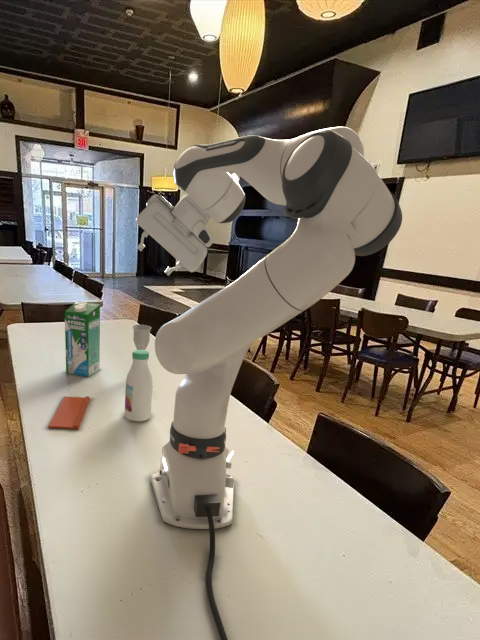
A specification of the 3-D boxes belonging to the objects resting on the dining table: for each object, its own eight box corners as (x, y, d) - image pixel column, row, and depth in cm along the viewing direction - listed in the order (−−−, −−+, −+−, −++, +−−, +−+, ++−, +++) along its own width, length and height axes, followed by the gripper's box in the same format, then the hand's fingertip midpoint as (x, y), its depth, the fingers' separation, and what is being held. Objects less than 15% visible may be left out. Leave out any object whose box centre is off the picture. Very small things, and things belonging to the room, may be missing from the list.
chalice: (128, 371, 157) (129, 324, 151) (144, 369, 160) (147, 324, 153) (134, 377, 151) (136, 330, 144) (151, 376, 154) (154, 329, 147)
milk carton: (65, 372, 150) (64, 304, 141) (78, 365, 158) (77, 300, 149) (88, 377, 148) (88, 308, 139) (99, 369, 156) (100, 303, 147)
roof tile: (78, 429, 112) (78, 425, 112) (48, 428, 111) (48, 424, 111) (90, 399, 130) (90, 396, 130) (64, 398, 130) (64, 395, 130)
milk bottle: (152, 412, 125) (156, 349, 118) (148, 423, 118) (152, 357, 111) (127, 409, 126) (129, 346, 119) (121, 420, 119) (124, 354, 111)
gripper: (156, 188, 101) (121, 234, 103) (217, 246, 106) (182, 288, 109) (155, 191, 106) (122, 234, 109) (213, 246, 112) (180, 285, 115)
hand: (152, 261), depth 109 cm, fingers open, 8 cm apart
